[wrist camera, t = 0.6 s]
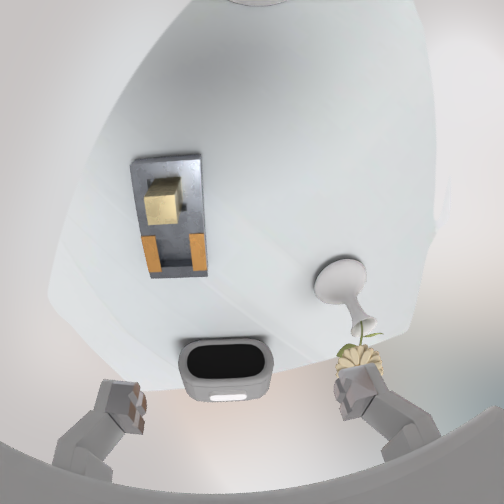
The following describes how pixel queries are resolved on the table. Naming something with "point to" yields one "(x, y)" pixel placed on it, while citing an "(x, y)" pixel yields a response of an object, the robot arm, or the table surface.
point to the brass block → (164, 201)
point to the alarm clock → (226, 369)
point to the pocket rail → (189, 224)
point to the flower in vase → (345, 292)
